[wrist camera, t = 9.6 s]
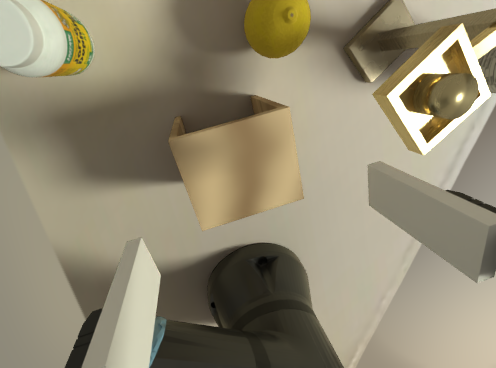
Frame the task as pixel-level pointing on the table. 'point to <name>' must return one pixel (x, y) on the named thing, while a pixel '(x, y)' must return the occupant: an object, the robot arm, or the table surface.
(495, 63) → the energy drink can
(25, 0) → the supplement bottle
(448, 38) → the balance
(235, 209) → the oak cover
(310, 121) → the table surface
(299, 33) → the lemon
